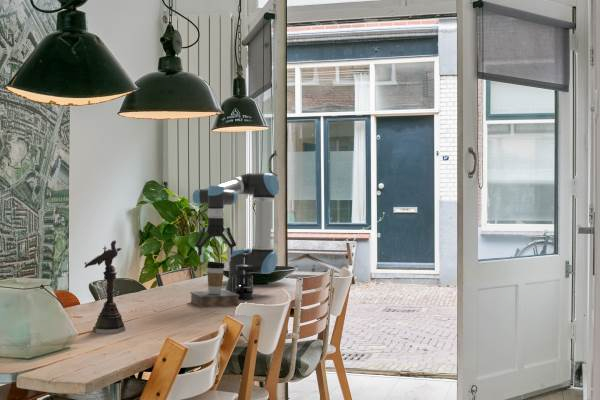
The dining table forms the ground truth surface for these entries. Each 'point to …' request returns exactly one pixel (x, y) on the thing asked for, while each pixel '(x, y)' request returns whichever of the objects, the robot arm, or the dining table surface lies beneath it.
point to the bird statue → (108, 295)
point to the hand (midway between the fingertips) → (215, 261)
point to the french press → (243, 282)
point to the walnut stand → (214, 299)
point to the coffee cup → (215, 277)
